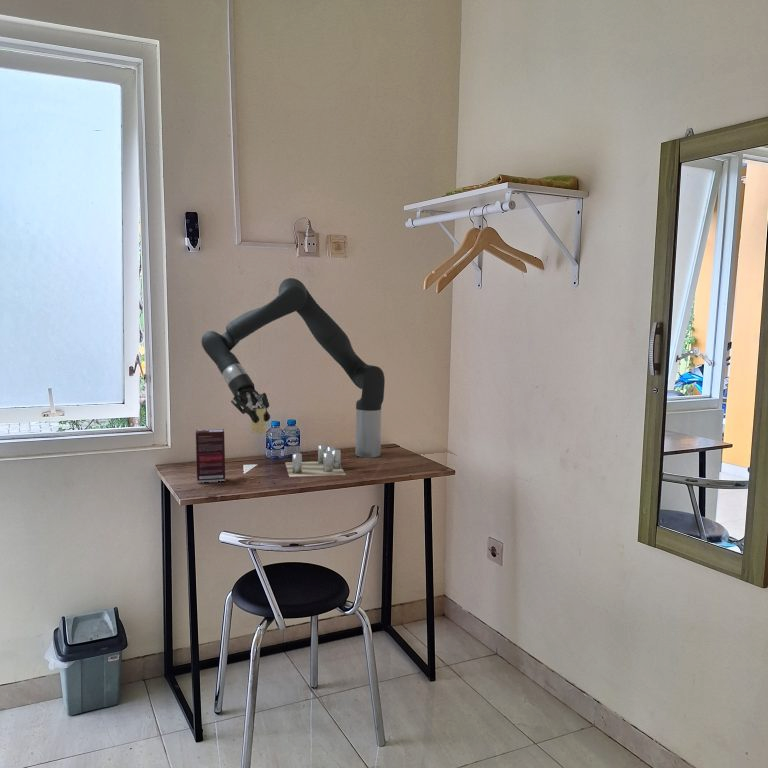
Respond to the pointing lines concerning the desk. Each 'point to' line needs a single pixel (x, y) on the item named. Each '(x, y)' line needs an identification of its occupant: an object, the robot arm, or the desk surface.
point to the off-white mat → (248, 467)
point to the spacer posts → (321, 459)
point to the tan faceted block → (261, 424)
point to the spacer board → (312, 470)
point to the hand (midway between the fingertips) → (262, 420)
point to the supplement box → (210, 455)
